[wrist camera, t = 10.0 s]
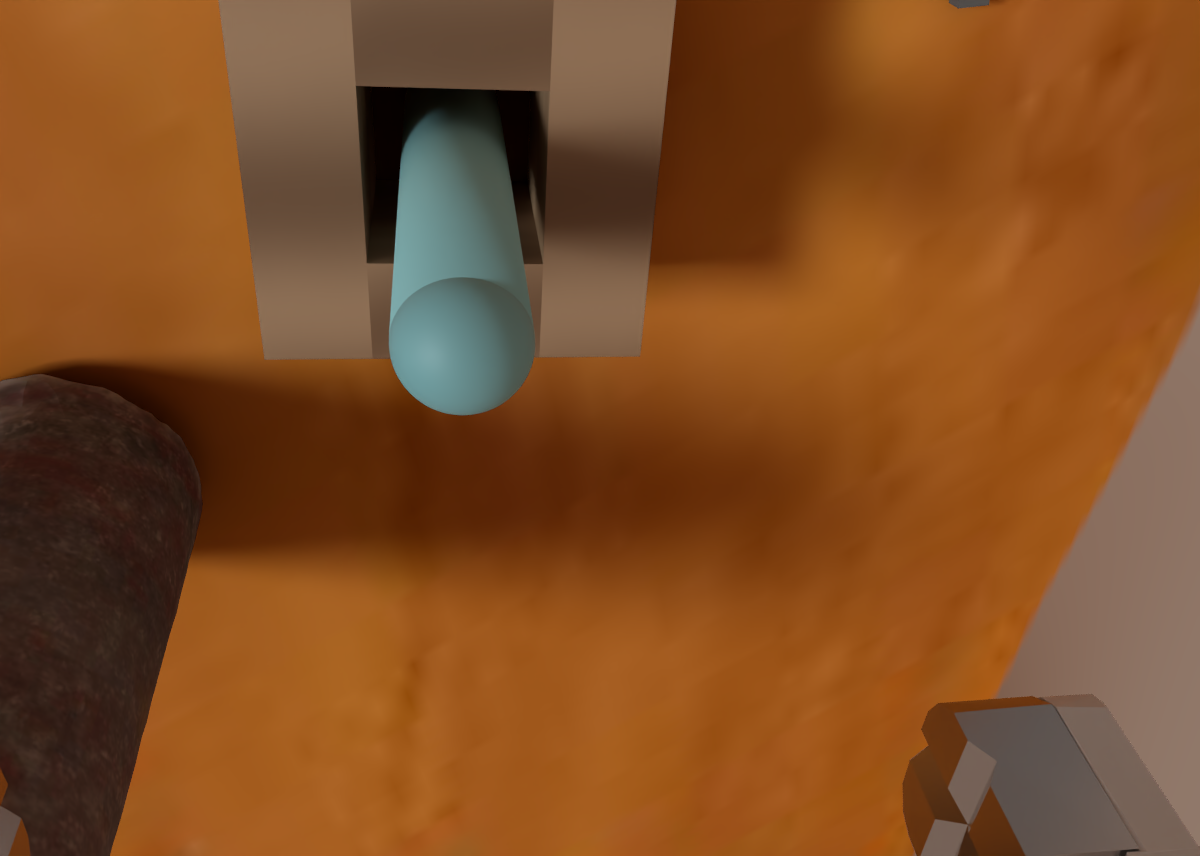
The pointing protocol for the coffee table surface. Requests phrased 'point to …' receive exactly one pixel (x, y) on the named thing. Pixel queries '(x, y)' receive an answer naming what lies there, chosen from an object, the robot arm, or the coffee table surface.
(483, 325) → the teal capsule
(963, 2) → the dark grey bar
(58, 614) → the textured grey cylinder
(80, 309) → the coffee table surface
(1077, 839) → the robot arm
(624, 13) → the block with square hole
